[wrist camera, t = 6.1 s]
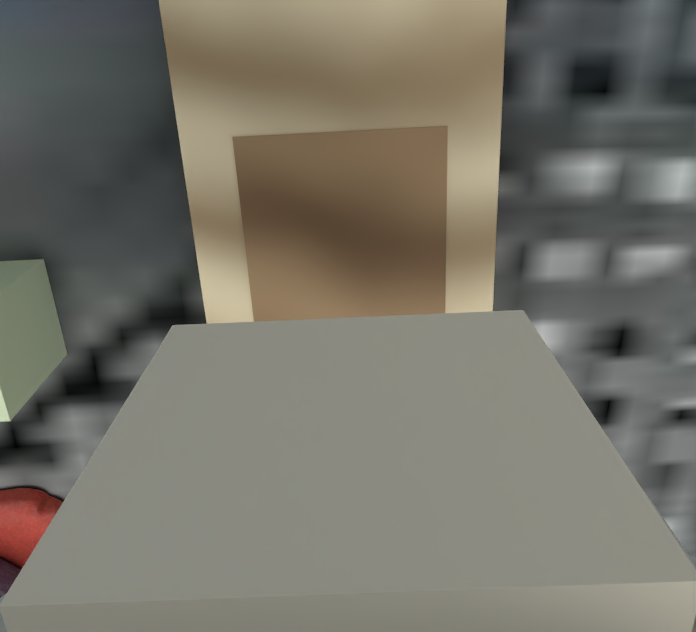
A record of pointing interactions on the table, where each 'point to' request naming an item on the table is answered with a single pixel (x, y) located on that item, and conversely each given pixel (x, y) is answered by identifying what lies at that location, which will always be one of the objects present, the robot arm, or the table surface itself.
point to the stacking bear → (22, 528)
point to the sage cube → (26, 333)
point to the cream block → (355, 492)
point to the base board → (339, 153)
